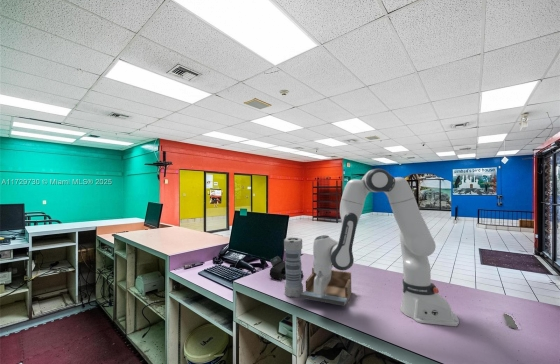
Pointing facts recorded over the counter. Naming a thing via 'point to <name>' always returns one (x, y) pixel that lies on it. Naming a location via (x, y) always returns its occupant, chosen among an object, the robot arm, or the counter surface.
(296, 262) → the canister
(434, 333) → the counter surface
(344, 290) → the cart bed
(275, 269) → the virtual reality headset
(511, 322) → the stone tool
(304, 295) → the panel
